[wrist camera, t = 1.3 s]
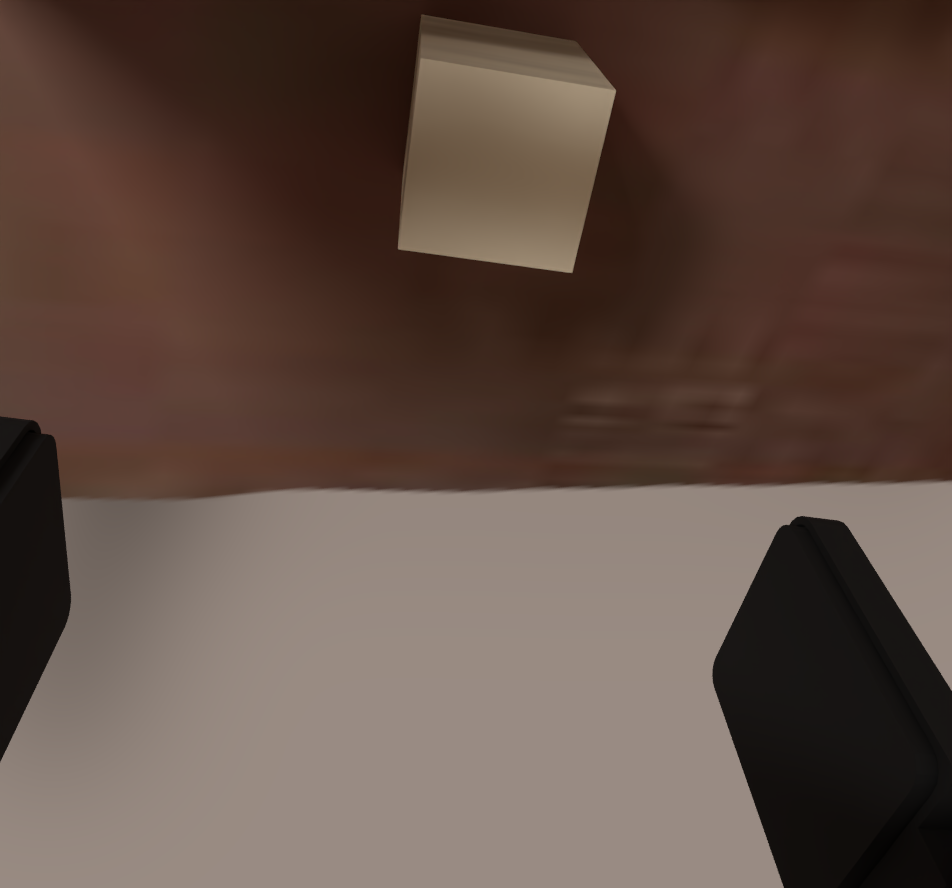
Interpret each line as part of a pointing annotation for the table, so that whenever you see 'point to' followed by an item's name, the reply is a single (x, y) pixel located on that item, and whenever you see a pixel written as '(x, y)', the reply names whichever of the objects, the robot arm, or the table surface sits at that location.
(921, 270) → the table surface
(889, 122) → the table surface
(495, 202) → the beech block
